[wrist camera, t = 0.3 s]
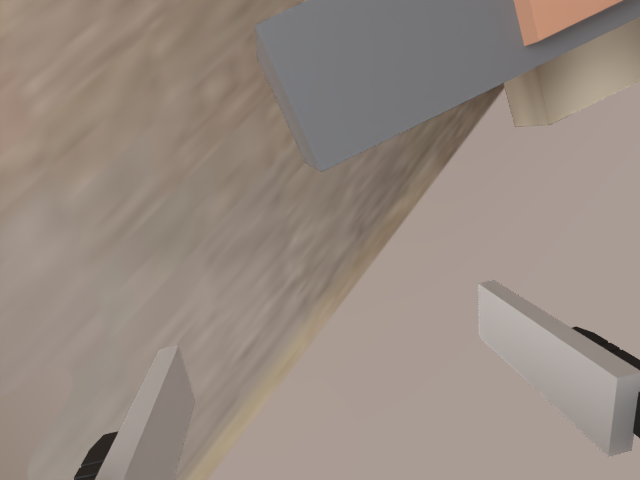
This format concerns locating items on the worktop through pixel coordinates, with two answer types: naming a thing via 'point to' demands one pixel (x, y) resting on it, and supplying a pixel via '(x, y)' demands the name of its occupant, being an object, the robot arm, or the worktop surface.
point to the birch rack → (576, 78)
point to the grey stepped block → (409, 60)
